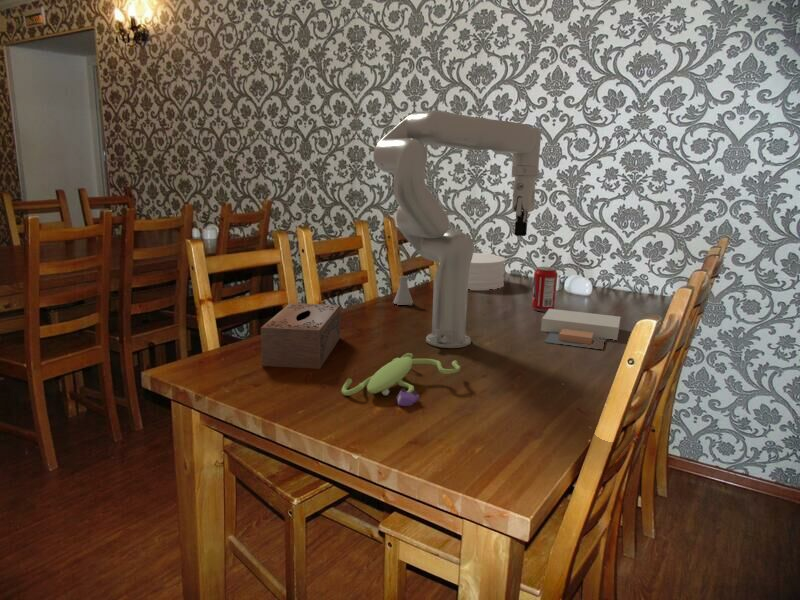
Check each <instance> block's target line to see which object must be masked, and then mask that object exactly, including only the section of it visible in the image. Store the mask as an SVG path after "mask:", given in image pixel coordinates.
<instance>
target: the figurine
mask: <svg viewBox="0 0 800 600" xmlns="http://www.w3.org/2000/svg"><path fill="white" fill-rule="evenodd" d="M413 356H414V354H413V353H410V352H407V353H404V354H403V355H402V356H401V357H395V358H393V359H392V360H391V361H390V362H388V363H387V364H385V365H383V366H381V368H379V369H378V370H376V372H375V373H374V374H373V375H372V376H369V377H368V378H366V379H364V380H363V381H362V382H359V384H358V385H356V386H355V387H352V388H350V389H348V388H349V386H350V385H351V384H352V383H353V380H352V378H347V379H346V380H345V382H344V384H343V386H342V387H341V395H343V396H351V395H354V394H357V393H359V392H360V391H361V390H363V389H364V388H365V387H366V391H367V392H369V393H371V394H375V395H376V394H378V393H382V395H383V396H386V397H388V396H389V394H390V388H391V387H394V386H395V385H397V384H398V386H400V387H403V388H401V389H400V391H399V392H398V394H397V396H396V398H395V399H396V401H397V405H398V406H402V407H410V406H413V405H414V404H416V403H417V402H418V399H419V397H420V395H419V394H418V393H417V391H415V386H414V385H412V384H410V383H408V382H405V381H403V379H404V378H405V377H406V375H407V374H408V373H410V370H411V369H412V367H413V365H415V364H416V365H417V364H422V365H423V364H429V365H434V366H437V370H438V372H439V373H441V374H443V375H448V374H454V373H458V372H459V371H460V370H461V366H460V365H459V363H458V361H457V360H453V361H452V362H451V365H452V366H453V368H443V366H442V365H443V364H442V362H441V361H440V360H437V359H433V358H413ZM407 389H408V390H407Z"/></svg>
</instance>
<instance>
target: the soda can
mask: <svg viewBox="0 0 800 600" xmlns="http://www.w3.org/2000/svg"><path fill="white" fill-rule="evenodd" d="M533 274H534V275H533V286H532V287H533V288H532V298H531V299H532V300H531V307H532V309H534V310H535V311H538V312H544V313H546V312H547V311H548V309H555V307H556V305H555V304H556V298H557V297H556V295H557V285H558V284H557V283H558V272H557V268H555V267H550V266H537V267H536V270H535V271H534V273H533Z"/></svg>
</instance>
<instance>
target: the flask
mask: <svg viewBox="0 0 800 600" xmlns="http://www.w3.org/2000/svg"><path fill="white" fill-rule="evenodd" d="M398 279H399V285H398V288H397V292H396V294H395V296H394V299H393V302H392V304H393V303H394V304H397V305H396V306H398V305H409V306H413V304H414V300H413V298H412V295H411V292H410V289H409V283H408V279H409V276H406V275H404V276H399V277H398ZM412 303H413V304H412ZM394 304H393V305H394Z"/></svg>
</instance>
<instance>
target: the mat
mask: <svg viewBox="0 0 800 600" xmlns="http://www.w3.org/2000/svg"><path fill="white" fill-rule="evenodd" d="M593 338H594V337H593ZM596 338H597V337H596ZM596 338H594V339H595V340H597V341H599V340H598V339H596ZM599 339H600V341H606V340H607V339H605V338H602V339H601V338H599ZM600 341H599V342H600ZM606 342H607V341H606ZM544 343H545V344H550V343H554V344H553V345H558V344H563V345H562V346H565V345H572V346H571V347H573V346H580V347H581V346H583V345H582V343H574V342H567V341H560V340H559V333H558V332H549V334H548V335H547V338H546V339H545V340H544ZM593 343H594V340H593V341H592V344H593ZM588 345H589V344H588ZM588 345H587V346H588ZM580 347H579V348H580ZM588 347H591V346H588Z"/></svg>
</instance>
